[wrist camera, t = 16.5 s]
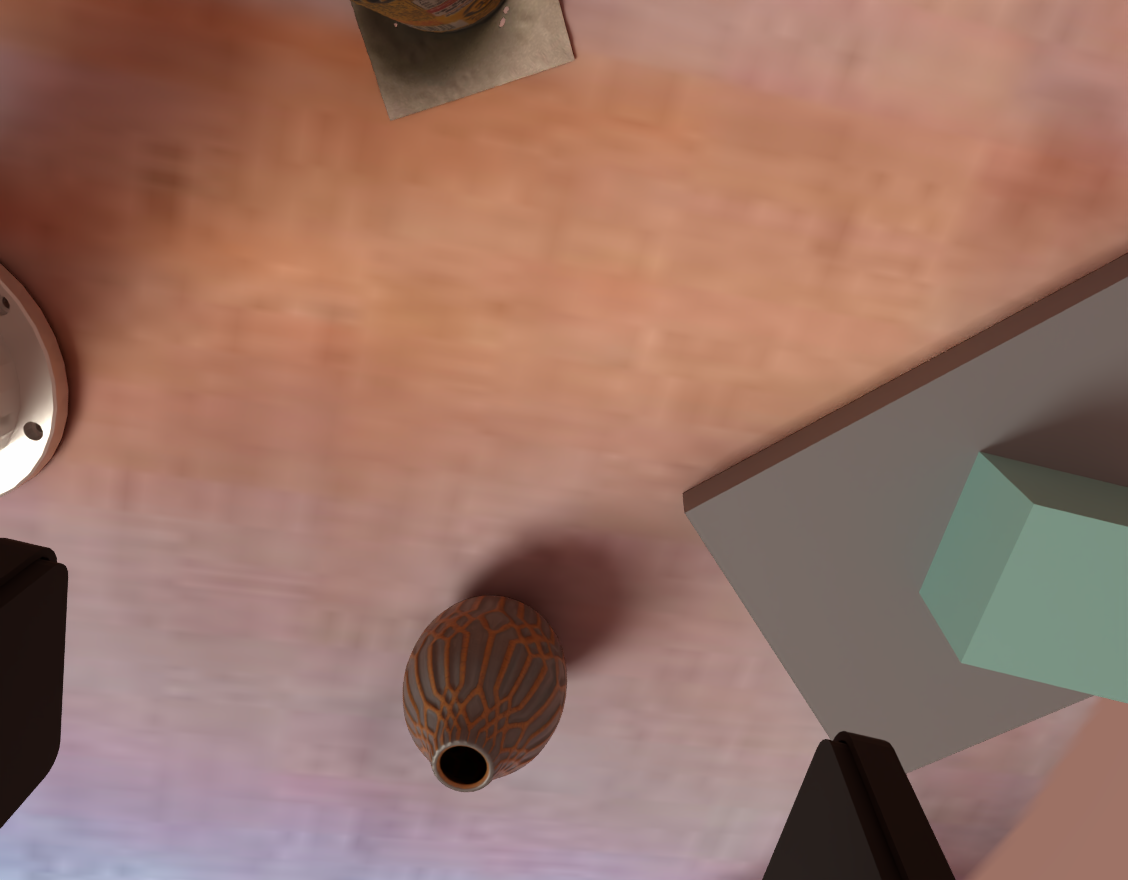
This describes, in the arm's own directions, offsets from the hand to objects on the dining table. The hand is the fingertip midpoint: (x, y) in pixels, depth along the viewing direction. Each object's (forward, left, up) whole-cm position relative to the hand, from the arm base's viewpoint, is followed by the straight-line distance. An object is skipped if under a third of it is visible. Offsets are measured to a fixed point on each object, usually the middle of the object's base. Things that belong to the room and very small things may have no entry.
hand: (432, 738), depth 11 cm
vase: (-11, -11, -26) cm, 31 cm away
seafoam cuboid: (+11, -17, -24) cm, 31 cm away
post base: (+11, -17, -26) cm, 33 cm away
